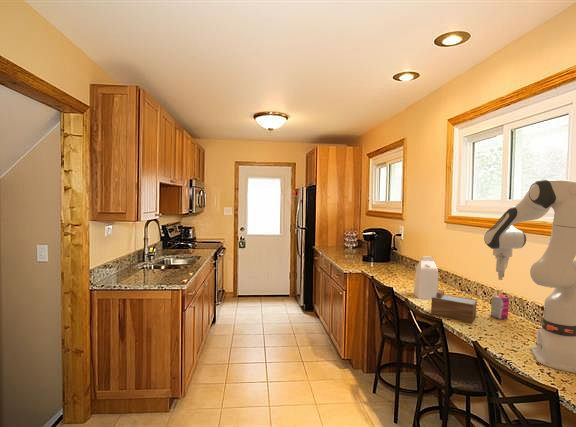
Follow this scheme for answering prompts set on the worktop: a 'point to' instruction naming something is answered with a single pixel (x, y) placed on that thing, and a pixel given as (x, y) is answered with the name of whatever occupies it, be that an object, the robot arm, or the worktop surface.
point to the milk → (426, 278)
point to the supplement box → (499, 307)
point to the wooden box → (453, 309)
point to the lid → (453, 298)
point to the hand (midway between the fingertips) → (501, 278)
